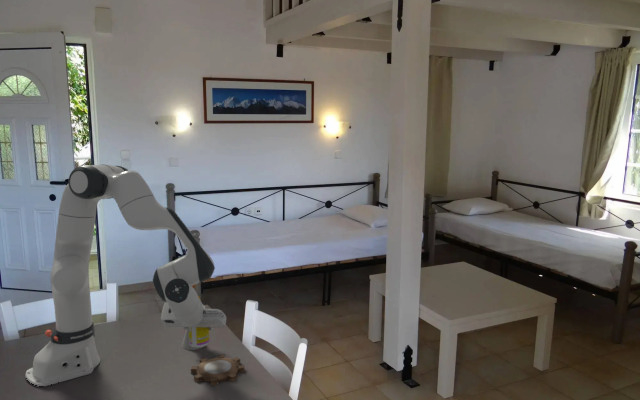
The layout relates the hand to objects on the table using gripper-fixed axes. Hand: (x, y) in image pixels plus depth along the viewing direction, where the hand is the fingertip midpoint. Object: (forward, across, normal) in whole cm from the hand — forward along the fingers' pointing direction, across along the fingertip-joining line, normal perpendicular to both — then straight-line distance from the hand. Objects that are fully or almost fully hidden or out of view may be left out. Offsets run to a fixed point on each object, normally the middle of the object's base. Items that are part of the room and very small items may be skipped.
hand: (199, 327), depth 167 cm
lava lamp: (+23, +7, -2) cm, 24 cm away
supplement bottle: (+4, 0, +4) cm, 6 cm away
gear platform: (+9, -6, +12) cm, 16 cm away
